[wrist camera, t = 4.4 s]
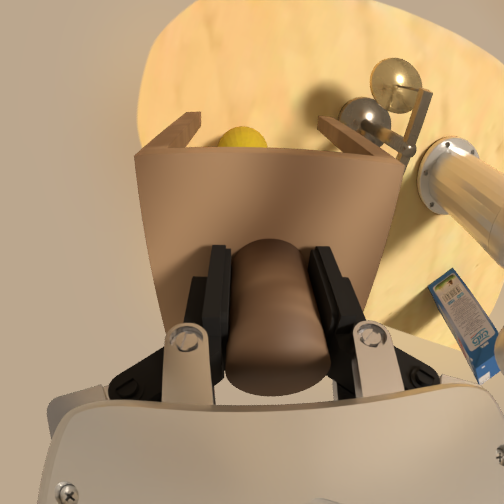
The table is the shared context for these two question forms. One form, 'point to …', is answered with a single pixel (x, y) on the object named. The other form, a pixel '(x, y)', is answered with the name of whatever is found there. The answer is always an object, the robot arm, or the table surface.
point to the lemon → (242, 138)
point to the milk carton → (467, 324)
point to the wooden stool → (265, 238)
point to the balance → (390, 107)
